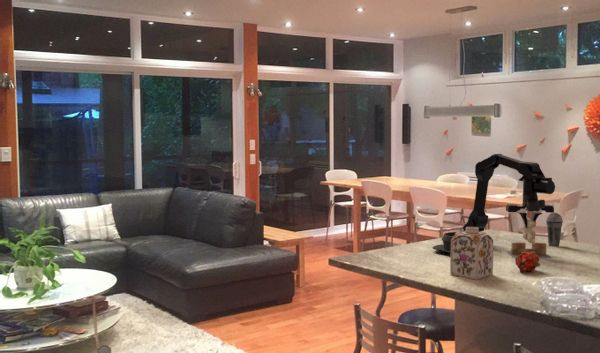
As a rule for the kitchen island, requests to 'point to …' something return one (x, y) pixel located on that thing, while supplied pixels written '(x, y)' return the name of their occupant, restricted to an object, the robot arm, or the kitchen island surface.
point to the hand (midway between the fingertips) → (529, 228)
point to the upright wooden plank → (529, 231)
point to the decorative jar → (471, 254)
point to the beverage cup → (554, 228)
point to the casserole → (445, 242)
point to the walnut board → (521, 247)
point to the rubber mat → (538, 255)
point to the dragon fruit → (527, 261)
